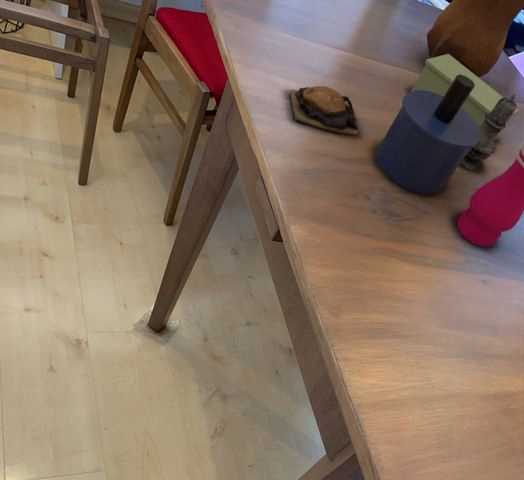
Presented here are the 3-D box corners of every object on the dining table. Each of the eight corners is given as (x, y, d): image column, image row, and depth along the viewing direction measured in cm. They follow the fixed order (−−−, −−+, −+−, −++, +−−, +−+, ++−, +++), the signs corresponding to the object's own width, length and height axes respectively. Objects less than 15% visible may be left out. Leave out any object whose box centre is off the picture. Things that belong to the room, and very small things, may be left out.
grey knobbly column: (481, 176, 91) (531, 112, 81) (449, 160, 91) (496, 93, 81) (484, 159, 94) (532, 95, 85) (453, 143, 94) (499, 77, 85)
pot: (455, 182, 87) (489, 136, 81) (417, 203, 81) (450, 154, 74) (403, 137, 90) (432, 89, 83) (362, 153, 83) (389, 102, 77)
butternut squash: (470, 65, 115) (557, -72, 96) (484, 101, 107) (582, -40, 88) (410, 43, 112) (488, -104, 92) (420, 79, 104) (507, -73, 84)
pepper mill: (455, 206, 83) (550, 83, 68) (497, 227, 84) (601, 109, 68) (452, 236, 79) (552, 111, 63) (497, 257, 79) (607, 139, 64)
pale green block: (497, 139, 100) (519, 110, 95) (477, 149, 96) (500, 119, 91) (430, 84, 104) (448, 53, 99) (408, 91, 100) (426, 59, 95)
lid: (490, 141, 81) (520, 100, 76) (448, 161, 74) (478, 118, 69) (429, 90, 84) (454, 48, 79) (383, 105, 77) (408, 60, 72)
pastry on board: (293, 124, 82) (302, 101, 79) (287, 90, 87) (296, 68, 84) (358, 139, 85) (369, 118, 83) (349, 106, 90) (359, 85, 87)
